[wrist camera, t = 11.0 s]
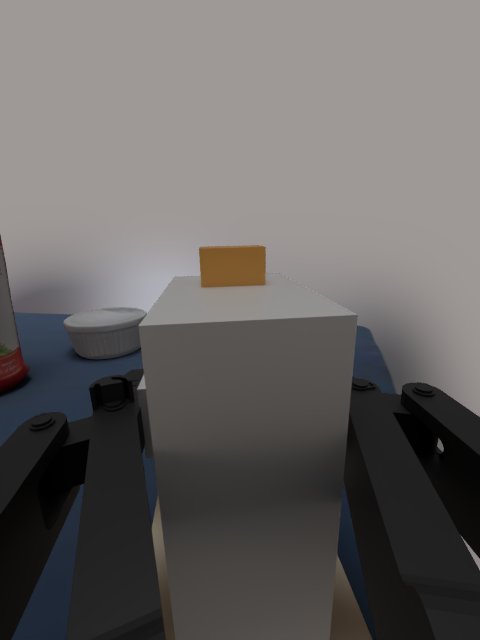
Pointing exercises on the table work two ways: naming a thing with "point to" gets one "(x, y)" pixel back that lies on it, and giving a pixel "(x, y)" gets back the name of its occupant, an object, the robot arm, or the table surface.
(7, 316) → the liquor
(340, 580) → the rail board
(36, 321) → the table surface
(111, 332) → the ramekin
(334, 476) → the module
